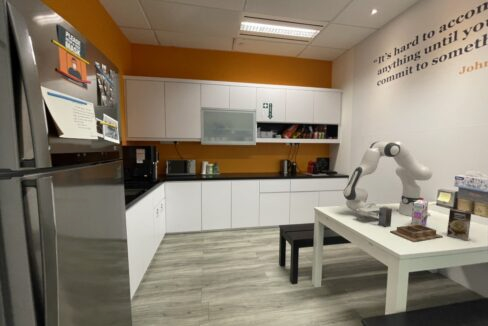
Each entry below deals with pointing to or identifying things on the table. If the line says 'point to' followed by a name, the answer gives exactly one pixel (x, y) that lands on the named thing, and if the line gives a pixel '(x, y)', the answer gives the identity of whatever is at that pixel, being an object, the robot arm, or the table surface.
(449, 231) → the coffee box
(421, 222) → the candy box
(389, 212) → the battery cell
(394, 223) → the table surface
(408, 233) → the walnut cell rack
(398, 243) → the table surface
